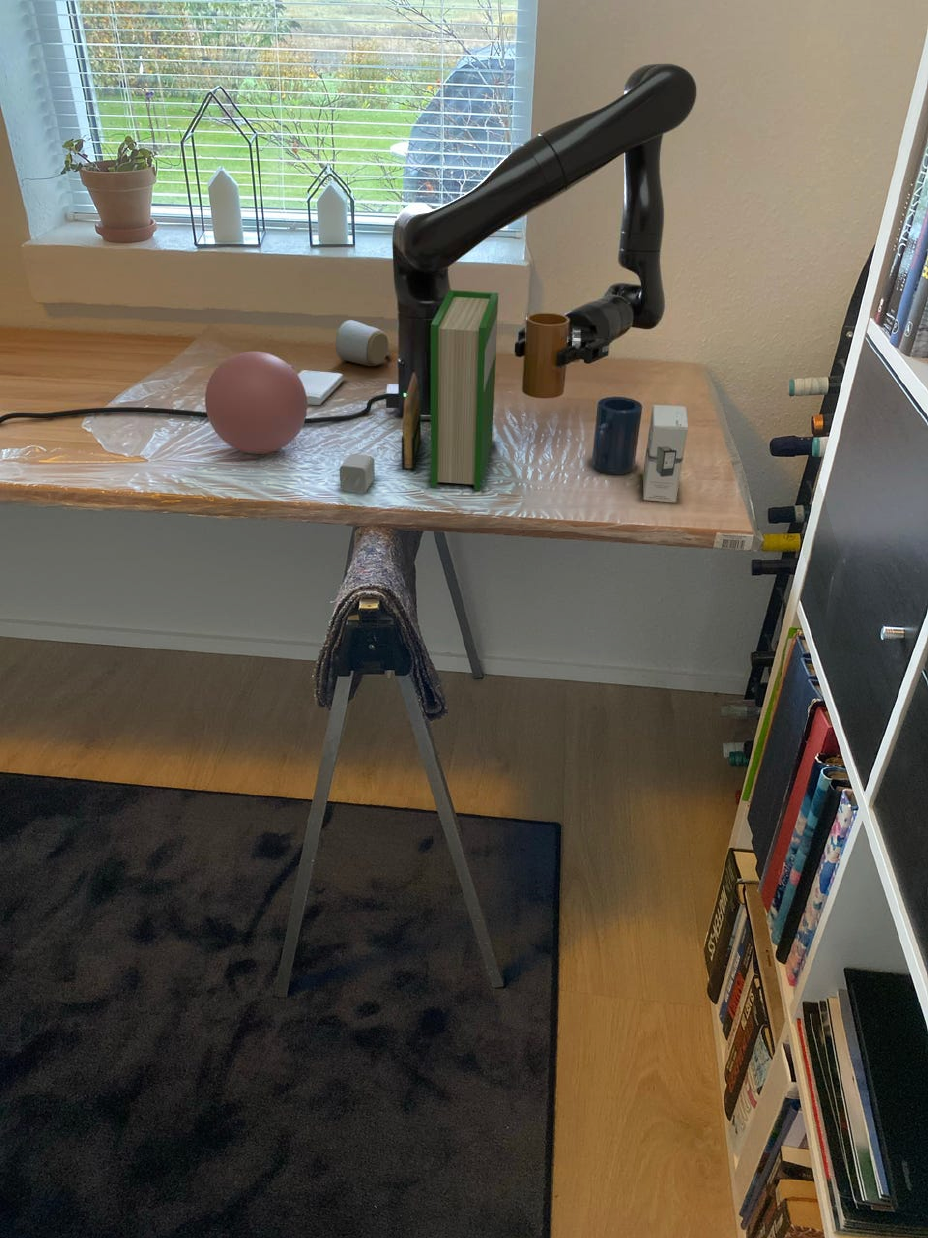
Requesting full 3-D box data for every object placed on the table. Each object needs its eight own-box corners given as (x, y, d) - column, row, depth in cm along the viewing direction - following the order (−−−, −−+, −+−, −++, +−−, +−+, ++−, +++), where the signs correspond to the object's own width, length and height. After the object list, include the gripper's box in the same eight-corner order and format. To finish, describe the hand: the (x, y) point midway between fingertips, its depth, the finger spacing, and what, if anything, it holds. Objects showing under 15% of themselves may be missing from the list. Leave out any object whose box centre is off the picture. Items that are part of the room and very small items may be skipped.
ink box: (641, 475, 143) (652, 402, 137) (674, 478, 143) (686, 404, 136) (642, 500, 136) (653, 424, 130) (676, 503, 136) (689, 427, 129)
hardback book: (480, 491, 138) (485, 327, 125) (430, 487, 139) (430, 324, 125) (492, 443, 152) (498, 292, 139) (447, 440, 153) (449, 289, 140)
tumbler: (523, 398, 141) (528, 324, 135) (520, 383, 146) (524, 312, 140) (565, 398, 141) (572, 325, 135) (561, 383, 146) (567, 312, 140)
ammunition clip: (414, 470, 143) (413, 395, 137) (402, 469, 143) (400, 394, 137) (420, 442, 152) (420, 370, 145) (409, 442, 152) (408, 369, 146)
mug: (603, 453, 150) (610, 393, 144) (641, 463, 147) (649, 402, 141) (575, 474, 143) (581, 412, 138) (614, 485, 140) (621, 422, 135)
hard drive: (301, 369, 175) (275, 391, 165) (343, 373, 174) (319, 396, 164) (302, 378, 176) (276, 400, 166) (343, 382, 175) (320, 405, 165)
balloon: (340, 429, 156) (335, 337, 147) (280, 476, 140) (270, 377, 132) (259, 415, 160) (250, 325, 152) (192, 460, 145) (177, 362, 136)
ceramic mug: (369, 372, 179) (368, 331, 175) (335, 364, 183) (333, 324, 178) (400, 358, 187) (400, 319, 183) (367, 350, 190) (366, 312, 186)
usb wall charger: (375, 480, 140) (374, 456, 138) (361, 501, 134) (360, 475, 132) (349, 477, 141) (348, 453, 138) (335, 498, 135) (333, 472, 133)
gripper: (552, 296, 151) (498, 320, 140) (633, 312, 145) (583, 339, 133) (548, 342, 156) (495, 369, 144) (627, 360, 149) (578, 390, 137)
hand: (538, 354), depth 139 cm, fingers closed on tumbler, 6 cm apart
